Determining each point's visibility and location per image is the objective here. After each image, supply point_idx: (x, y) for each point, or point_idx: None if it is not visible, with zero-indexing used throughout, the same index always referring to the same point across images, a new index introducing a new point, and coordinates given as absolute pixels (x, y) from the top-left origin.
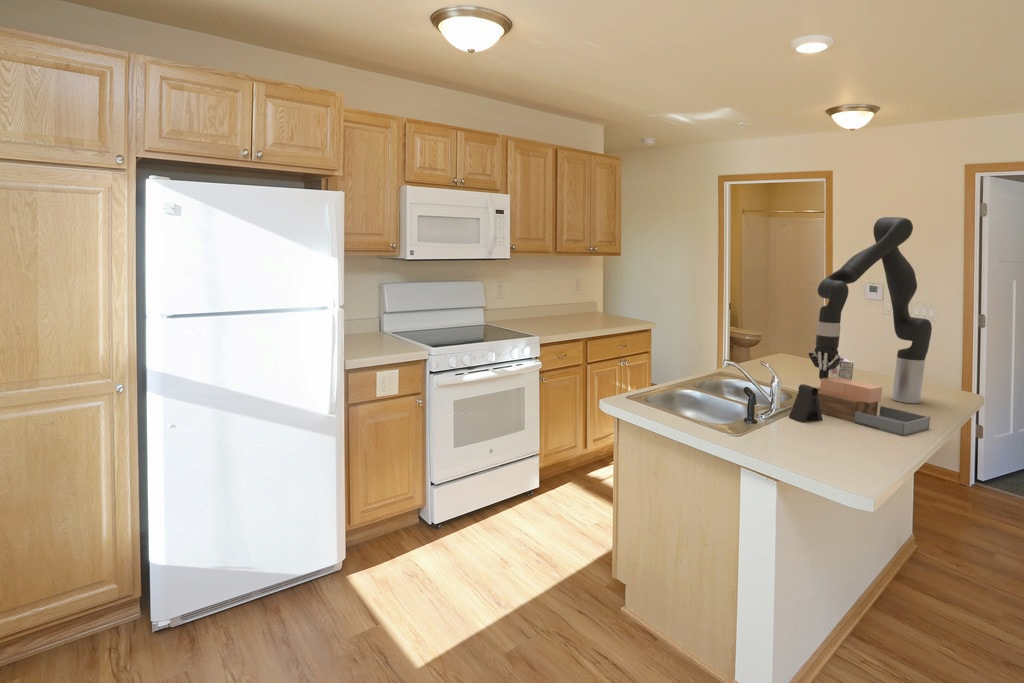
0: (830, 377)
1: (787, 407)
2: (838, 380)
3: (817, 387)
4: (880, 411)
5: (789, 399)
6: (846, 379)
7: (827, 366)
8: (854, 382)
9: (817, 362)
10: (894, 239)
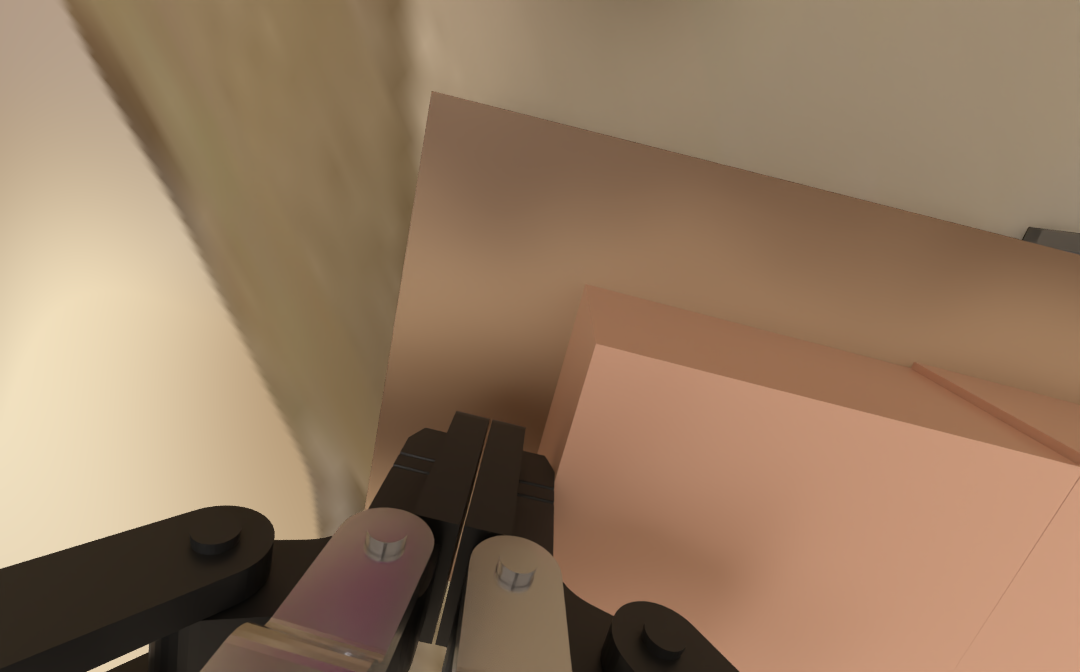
0: (592, 468)
1: (342, 510)
2: (777, 612)
3: (408, 309)
4: (1076, 251)
5: (197, 233)
6: (887, 433)
7: (484, 636)
8: (1048, 577)
9: (74, 611)
10: None
